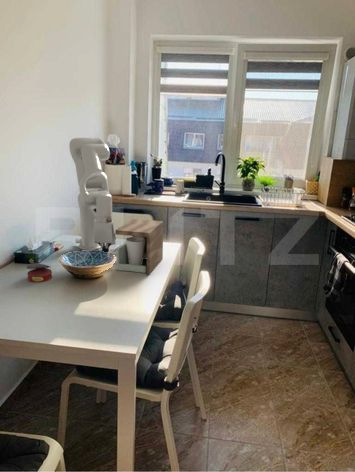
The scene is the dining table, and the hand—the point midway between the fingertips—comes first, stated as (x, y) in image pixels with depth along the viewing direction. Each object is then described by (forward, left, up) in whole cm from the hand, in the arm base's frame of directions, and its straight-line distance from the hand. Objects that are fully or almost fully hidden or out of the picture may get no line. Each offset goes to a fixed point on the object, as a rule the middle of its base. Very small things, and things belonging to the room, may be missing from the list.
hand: (105, 254), depth 179 cm
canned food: (-19, -28, -4) cm, 34 cm away
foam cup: (+16, 0, -4) cm, 16 cm away
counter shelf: (+18, 0, -4) cm, 19 cm away
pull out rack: (+14, 0, -3) cm, 14 cm away
